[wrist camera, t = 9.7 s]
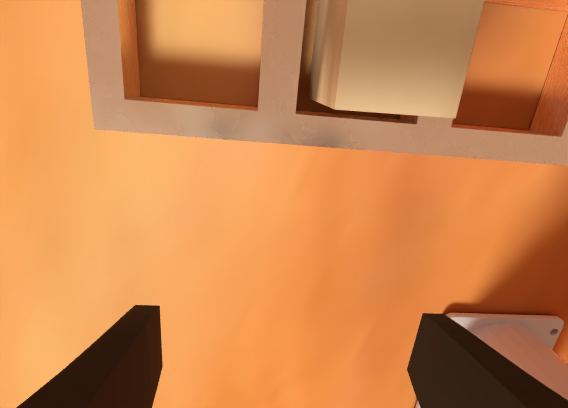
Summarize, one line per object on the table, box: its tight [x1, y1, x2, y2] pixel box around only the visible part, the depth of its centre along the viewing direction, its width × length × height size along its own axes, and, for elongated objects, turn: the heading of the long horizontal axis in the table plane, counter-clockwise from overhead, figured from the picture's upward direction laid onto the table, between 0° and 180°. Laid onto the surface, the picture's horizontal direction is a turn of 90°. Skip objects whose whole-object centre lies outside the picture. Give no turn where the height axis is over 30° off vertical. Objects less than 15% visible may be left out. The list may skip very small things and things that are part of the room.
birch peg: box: [308, 0, 485, 118], centre depth 13 cm, size 4×4×6 cm
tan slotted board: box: [81, 0, 568, 166], centre depth 15 cm, size 8×22×2 cm, turn 85°
